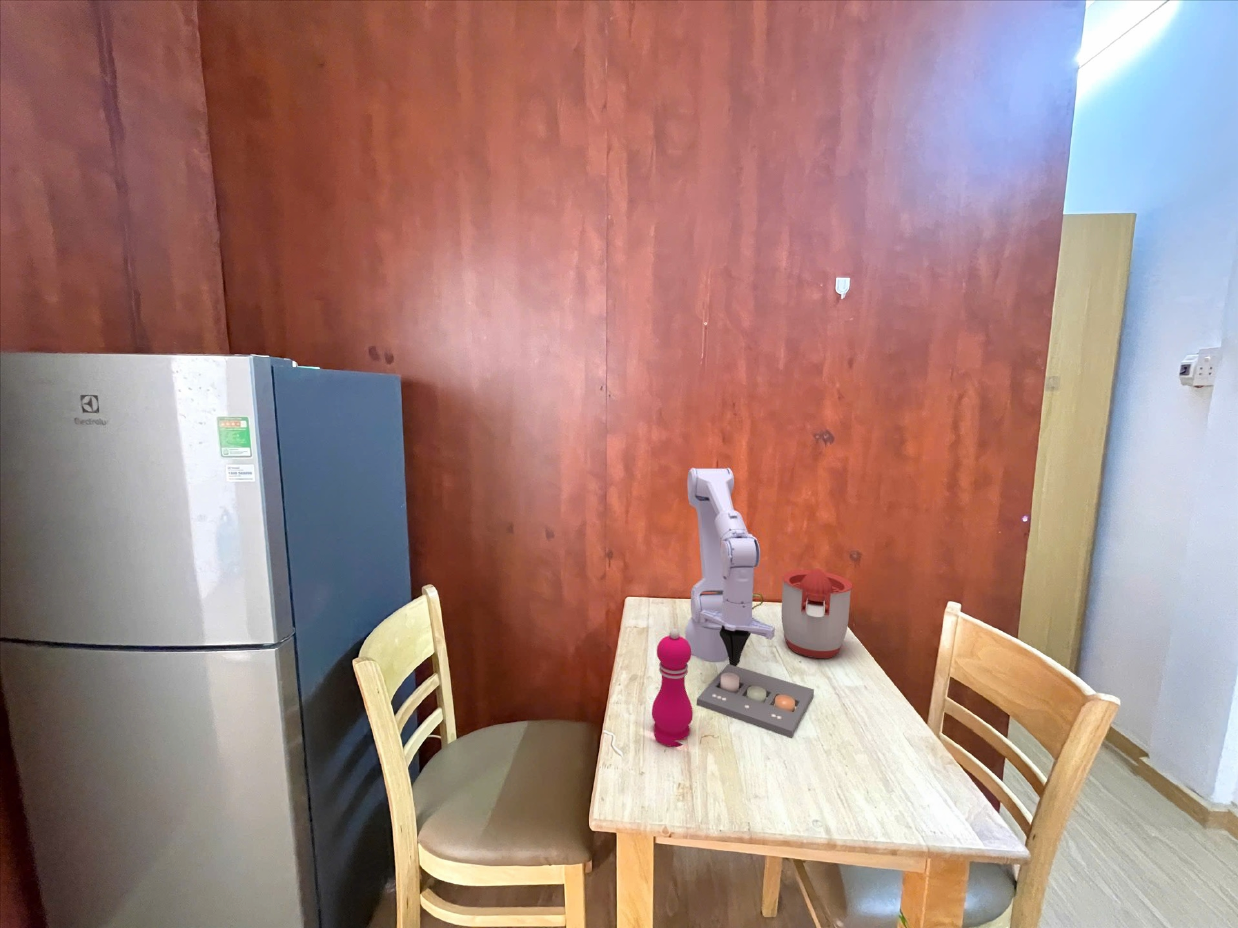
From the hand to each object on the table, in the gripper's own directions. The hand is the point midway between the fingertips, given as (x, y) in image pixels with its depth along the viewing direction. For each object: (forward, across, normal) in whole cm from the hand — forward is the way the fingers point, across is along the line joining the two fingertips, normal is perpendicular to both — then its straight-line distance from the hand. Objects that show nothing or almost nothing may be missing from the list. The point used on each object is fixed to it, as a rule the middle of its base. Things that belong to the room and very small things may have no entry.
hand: (734, 663), depth 107 cm
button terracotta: (+7, +10, 0) cm, 13 cm away
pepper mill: (+8, -5, -18) cm, 20 cm away
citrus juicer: (+8, +8, +30) cm, 32 cm away
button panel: (+7, +5, 0) cm, 9 cm away
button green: (+7, +5, 0) cm, 9 cm away
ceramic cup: (+8, -11, +34) cm, 37 cm away
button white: (+6, -1, 0) cm, 6 cm away
